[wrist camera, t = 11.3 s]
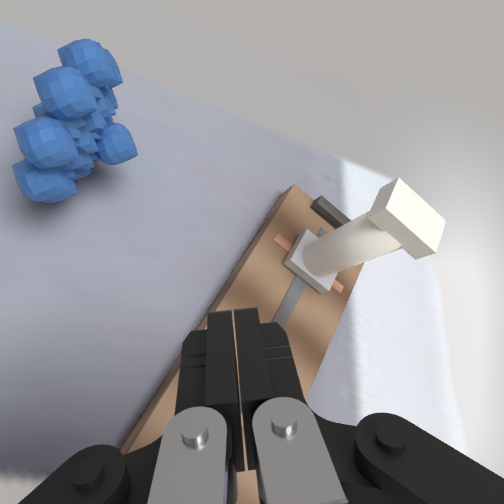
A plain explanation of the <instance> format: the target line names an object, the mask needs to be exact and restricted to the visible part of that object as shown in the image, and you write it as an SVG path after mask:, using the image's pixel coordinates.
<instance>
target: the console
mask: <svg viewBox="0 0 504 504" xmlns="http://www.w3.org/2000/svg"><path fill="white" fill-rule="evenodd" d="M350 221H351V220H350V219H348V218H347V217H346V216H345V215H344V214H343V213H341V212H340V211H339V210H338V209H337V208H336V207H334V206H333V205H332V204H331V203H330V202H329V201H327V200H326V199H325V198H324V197H323V196H322V195H321V196H320V197H319V198H317V199H316V200H313V199H312V198H311V197H309V196H308V195H307V194H306V193H305V192H303V191H302V190H301V189H300V188H299V187H298V186H296V185H295V184H294V185H292V186H291V187H290V188H289V189H287V190H286V191H285V192H284V193H283V194H282V195H281V196H280V198H279V199H278V201H277V202H276V204H275V206H274V207H273V209H272V210H271V212H270V214H269V215H268V217H267V218H266V220H265V221H264V223H263V225H262V226H261V228H260V229H259V231H258V233H257V234H256V236H255V237H254V239H253V240H252V242H251V244H250V245H249V247H248V248H247V250H246V251H245V253H244V255H243V256H242V258H241V259H240V261H239V263H238V264H237V266H236V267H235V269H234V270H233V272H232V274H231V275H230V277H229V278H228V280H227V282H226V283H225V285H224V286H223V288H222V289H221V291H220V293H219V294H218V296H217V297H216V299H215V301H214V302H213V304H212V305H211V307H210V308H209V310H208V312H214V311H224V310H232V319H233V329H234V339H235V349H236V359H237V371H238V358H237V346H236V334H235V321H234V309H243V308H253V307H257V308H258V314H259V319H260V324H261V323H271V322H277V323H278V324H279V325H280V326H281V327H282V328H283V329H284V330H285V331H286V333H287V337H288V340H289V344H290V347H291V351H292V355H293V358H294V362H295V366H296V369H297V373H298V377H299V380H300V384H301V388H302V391H303V395H304V398H305V400H306V398H307V396H308V393H309V391H310V388H311V386H312V384H313V381H314V379H315V377H316V374H317V372H318V370H319V367H320V365H321V363H322V360H323V358H324V356H325V353H326V351H327V348H328V346H329V344H330V341H331V339H332V337H333V334H334V332H335V330H336V327H337V325H338V323H339V320H340V318H341V316H342V313H343V311H344V309H345V306H346V304H347V301H348V299H349V297H350V294H351V292H352V290H353V287H354V285H355V283H356V280H357V278H358V276H359V273H360V271H361V269H362V266H363V264H364V263H361V264H358V265H356V266H353V267H350V268H348V269H345V270H342V271H340V272H338V273H337V276H336V278H335V280H334V282H333V284H332V287H331V289H330V291H328V292H325V293H322V294H321V293H320V292H318V291H317V290H316V289H314V288H313V287H312V286H311V285H309V284H308V283H307V282H306V281H304V280H303V279H302V278H301V277H299V276H298V275H297V274H295V273H294V272H293V271H292V270H290V269H289V268H288V267H287V266H285V265H284V264H283V263H284V261H285V259H286V258H287V256H288V254H289V252H290V250H291V249H292V247H293V245H294V243H295V241H296V240H297V238H298V236H299V234H300V233H301V232H303V231H305V230H306V229H308V230H310V231H311V232H312V233H313V234H314V235H316V236H317V237H318V238H320V237H322V236H324V235H326V234H328V233H329V232H331V231H333V230H335V229H337V228H339V227H341V226H343V225H344V224H346V223H348V222H350ZM208 312H207V313H208ZM207 313H206V315H205V316H204V318H203V320H202V321H201V323H200V324H199V326H198V327H197V329H196V330H204V329H207ZM180 362H181V354H180V356H179V357H178V359H177V361H176V362H175V364H174V365H173V367H172V369H171V370H170V372H169V373H168V375H167V376H166V378H165V380H164V381H163V383H162V384H161V386H160V388H159V389H158V391H157V392H156V394H155V395H154V397H153V399H152V400H151V402H150V403H149V405H148V406H147V408H146V410H145V411H144V413H143V414H142V416H141V418H140V419H139V421H138V422H137V424H136V425H135V427H134V429H133V430H132V432H131V433H130V435H129V437H128V438H127V440H126V441H125V443H124V444H123V446H122V448H121V449H120V451H121V453H122V454H123V455H125V454H127V453H130V452H132V451H135V450H137V449H140V448H142V447H144V446H146V445H148V444H151V443H152V442H154V441H155V440H157V439H158V438H159V437H160V436H162V435H163V432H164V429H165V427H166V425H167V424H168V423H169V421H170V420H171V419H172V418H173V417H174V413H175V406H176V397H177V388H178V379H179V371H180ZM238 384H239V397H240V410H241V423H242V436H243V449H244V462H245V471H243V472H237V486H238V497H237V502H236V503H237V504H259V495H258V485H257V476H256V470H249V471H248V466H247V456H246V446H245V436H244V426H243V416H242V406H241V395H240V383H239V371H238Z"/></svg>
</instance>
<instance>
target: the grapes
mask: <svg viewBox="0 0 504 504" xmlns="http://www.w3.org/2000/svg"><path fill="white" fill-rule="evenodd" d="M57 51H58V54H59V57H60V61H61V63H62V65H63V66H60V67H56V68H51V69H49V70H47V71H45V72H43V73H42V74H40V75H38V76H36V77H34V78H33V80H34V83H35V86H36V90H37V92H38V95H39V97H40V100H41V102H42V103H40V104H38V105H36V106H34V107H33V111H34V114H35V117H36V119H32V120H30V121H27V122H25V123H23V124H21V125H19V126H17V127H15V128H13V129H14V132H15V135H16V138H17V141H18V145H19V148H20V150H21V152H22V153H23V155H24V157H25V158H26V160H23V161H20V162H19V163H17V164H15V165H13V166H12V167H13V170H14V174H15V177H16V180H17V183H18V186H19V187H20V189H21V190H22V192H23V193H24V194H25V195H26V196H27V197H28V198H30V199H32V200H34V201H36V202H40V201H43V202H45V203H56V202H60V201H63V200H66V199H68V198H70V197H72V196H74V195H76V194H78V193H79V192H78V189H77V186H76V183H75V180H78V179H80V178H82V177H85V176H87V175H89V174H90V173H92V171H91V168H93V167H95V165H94V163H93V161H95V160H97V159H100V160H101V161H102V162H104V163H106V164H107V165H116V164H120V163H123V162H125V161H127V160H130V159H132V158H134V157H136V156H137V155H138V153H137V150H136V146H135V144H134V141H133V138H132V136H131V134H130V132H129V131H128V130H127V128H126V127H125V126H124V125H121V124H119V123H113V120H112V116H113V115H115V114H116V113H115V110H114V109H116V108H118V105H117V101H116V98H115V95H114V93H113V90H112V88H113V87H116V86H117V85H119V84H121V83H123V81H122V78H121V74H120V71H119V68H118V65H117V63H116V61H115V59H114V58H113V56H112V55H111V53H110V52H109V51H108V50H106V49H104V48H103V47H102V46H101V45H100V43H98V42H96V41H93V40H90V39H81V40H76V41H73V42H71V43H69V44H67V45H66V46H64V47H62V48H60V49H58V50H57Z"/></svg>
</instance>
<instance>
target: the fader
mask: <svg viewBox="0 0 504 504" xmlns="http://www.w3.org/2000/svg"><path fill="white" fill-rule="evenodd" d="M445 222H446V220H445V219H444V218H442V217H441V216H440V215H439V214H438V213H437V212H436V211H435V210H434V209H433V208H432V207H430V206H429V205H428V204H427V203H426V202H425V201H424V200H423V199H422V198H421V197H420V196H418V195H417V194H416V193H415V192H414V191H413V190H412V189H411V188H410V187H409V186H407V185H406V184H405V183H404V182H403V181H402V180H401V179H400V178H397V179H395V180H394V181H392V182H390V183H389V184H387V185H385V186H383V187H382V188H380V190H379V193H378V195H377V197H376V199H375V201H374V204H373V206H372V208H371V210H370V211H369V212H367V213H365V214H363V215H361V216H359V217H358V218H356V219H354V220H352V221H350V222H348V223H346V224H344V225H343V226H341V227H339V228H337V229H335V230H333V231H331V232H329V233H328V234H326V235H324V236H322V237H320V238H318V237H317V236H316V235H314V234H313V233H312V232H311V231H310V230H308V229H306V230H305V231H303V232H301V233H300V234H299V236H298V238H297V240H296V241H295V243H294V245H293V247H292V249H291V250H290V252H289V254H288V256H287V258H286V259H285V261H284V263H283V264H284V265H285V266H287V267H288V268H289V269H290V270H292V271H293V272H294V273H295V274H297V275H298V276H299V277H301V278H302V279H303V280H304V281H306V282H307V283H308V284H309V285H311V286H312V287H313V288H314V289H316V290H317V291H318V292H320V293H321V294H322V293H325V292H328V291H330V289H331V287H332V284H333V282H334V280H335V278H336V276H337V273H338V272H340V271H342V270H345V269H348V268H350V267H353V266H356V265H358V264H361V263H364V262H366V261H369V260H372V259H374V258H377V257H380V256H382V255H385V254H388V253H390V252H393V251H396V250H398V249H401V248H402V249H404V250H405V251H406V252H407V253H408V254H409V255H410V256H412V257H413V258H414V259H415V260H416V259H419V258H422V257H425V256H428V255H431V254H434V253H436V251H437V248H438V245H439V241H440V238H441V235H442V232H443V229H444V225H445Z"/></svg>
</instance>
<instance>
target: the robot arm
mask: <svg viewBox="0 0 504 504" xmlns="http://www.w3.org/2000/svg"><path fill="white" fill-rule="evenodd" d="M234 321H235V334H236V346H237V358H238V371H239V383H240V395H241V406H242V416H243V426H244V436H245V446H246V456H247V466H248V471H249V470H256V476H257V485H258V495H259V504H504V478H502V477H500V476H498V475H497V474H495V473H494V472H492V471H490V470H489V469H487V468H485V467H484V466H482V465H480V464H479V463H477V462H475V461H474V460H472V459H470V458H469V457H467V456H466V455H464V454H462V453H461V452H459V451H457V450H456V449H454V448H452V447H451V446H449V445H447V444H446V443H444V442H442V441H441V440H439V439H437V438H436V437H434V436H432V435H431V434H429V433H427V432H426V431H424V430H422V429H421V428H419V427H418V426H416V425H414V424H413V423H411V422H409V421H408V420H406V419H404V418H402V417H400V416H397V415H394V414H390V413H374V414H371V415H368V416H366V417H364V418H363V419H362V420H361V421H360V422H359V423H358V425H357V426H351V425H345V424H340V423H335V422H331V421H328V420H326V419H324V418H322V417H320V416H318V415H317V414H316V413H314V412H313V411H312V410H311V409H310V407H309V406H308V405H307V403H306V401H305V398H304V395H303V391H302V388H301V384H300V380H299V377H298V373H297V369H296V366H295V362H294V358H293V355H292V351H291V347H290V344H289V340H288V337H287V333H286V331H285V330H284V329H283V328H282V327H281V326H280V325H279V324H278V323H277V322H271V323H261V324H260V319H259V314H258V308H257V307H253V308H243V309H234ZM238 371H237V359H236V349H235V339H234V329H233V319H232V310H224V311H214V312H208V313H207V329H204V330H195V331H191V332H190V333H189V335H188V336H187V338H186V339H185V340H184V342H183V345H182V353H181V362H180V371H179V379H178V388H177V397H176V406H175V413H174V417H173V418H172V419H171V420H170V421H169V423H168V424H167V425H166V427H165V429H164V432H163V435H162V436H160V437H159V438H158V439H157V440H155V441H154V442H152V443H151V444H148V445H146V446H144V447H142V448H140V449H137V450H135V451H132V452H130V453H127V454H125V455H123V454H122V453H121V451H119V450H118V449H117V448H115V447H113V446H110V445H95V446H91V447H88V448H85V449H83V450H81V451H79V452H77V453H76V454H74V455H73V456H72V457H70V458H69V459H68V460H67V461H66V462H65V463H63V464H62V465H61V466H60V467H59V468H58V469H57V470H56V471H54V472H53V473H52V474H51V475H50V476H49V477H48V478H46V479H45V480H44V481H43V482H42V483H41V484H40V485H39V486H37V487H36V488H35V489H34V490H33V491H32V492H31V493H30V494H28V495H27V496H26V497H25V498H24V499H23V500H22V501H21V502H19V504H237V503H236V502H237V497H238V486H237V472H243V471H245V462H244V449H243V436H242V423H241V410H240V397H239V384H238Z"/></svg>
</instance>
